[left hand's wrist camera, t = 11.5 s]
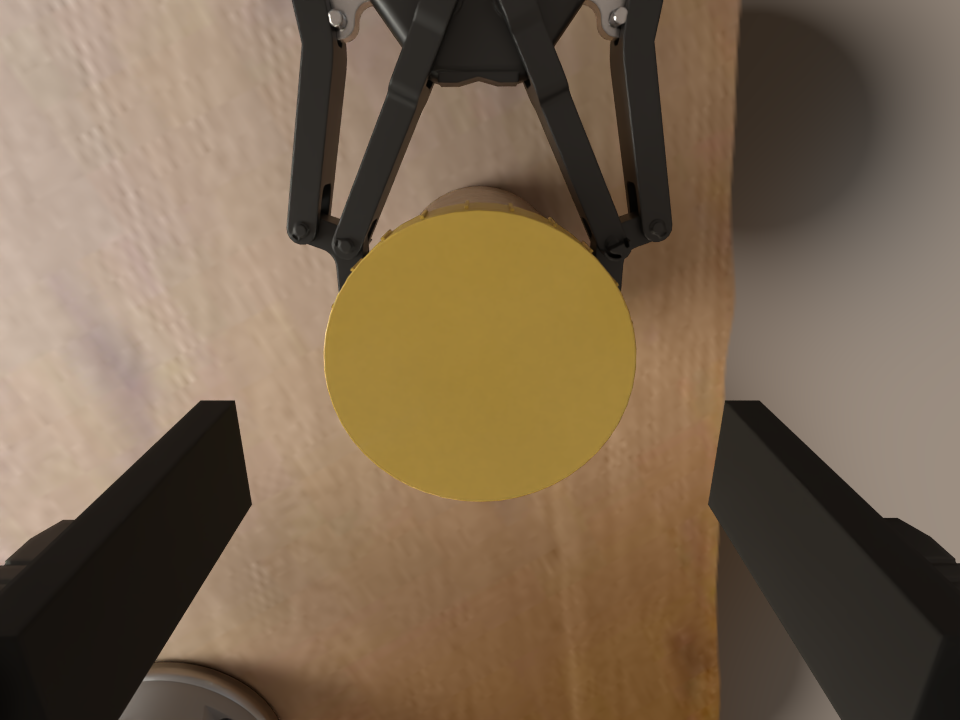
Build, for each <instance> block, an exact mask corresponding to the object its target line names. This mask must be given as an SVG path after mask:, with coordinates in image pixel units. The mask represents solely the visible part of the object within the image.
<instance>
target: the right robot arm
mask: <svg viewBox="0 0 960 720" xmlns="http://www.w3.org/2000/svg"><path fill="white" fill-rule="evenodd" d="M292 3H293V7H294V12H295V16H296V20H297V25H298V29H299V34H300V38H301V42H302V49H301V61H300V73H299V85H298V97H297V109H296V121H295V133H294V145H293V157H292V169H291V181H290V193H289V205H288V217H287V233H288V235H289V237H290V239H291V240H292V241H294V242H295V243H297V244H309V245H312V246H315V247H318V248H320V249H323V250H325V251H327V252H328V253H330V254H331V256H332V257H333V258H334V260H335V263H336V268H337V278H338V289H339V292H340V290H341V288H342V287H343V285H344V283H345V282H346V280H347V278H348V277H349V275H350V274H351V273H352V271H351V269H352V267H353V266H354V265H355V264H356V263H357V262H358V261H359V260H360V259H361V258H362V259H363V258H364V257H365V256H366V255H367V254H368V253H369V244H370V242H371V241H372V239H371V237H372V235H373V232H374V230H375V227H376V225H377V222H378V220H379V217H380V215H381V212H382V210H383V207H384V205H385V202H386V200H387V197H388V195H389V192H390V190H391V187H392V185H393V182H394V180H395V177H396V175H397V172H398V170H399V167H400V165H401V162H402V160H403V157H404V155H405V152H406V150H407V147H408V145H409V142H410V140H411V137H412V135H413V132H414V130H415V127H416V125H417V122H418V120H419V117H420V115H421V112H422V110H423V108H424V106H425V105H426V102H427V100H428V98H429V95H430V93H431V90H432V88H433V85H434V83H436V84H439V85H440V86H441V87H460V86H463V85H467V84H470V83H473V82H477V81H481V82H484V83H488V84H491V85H495V86H516V85H517V84H519V83H522V82H523V84H524V87H525V89H526V91H527V94H528V96H529V98H530V101H531V103H532V105H533V106H534V108H535V110H536V112H537V115H538V117H539V120H540V122H541V124H542V127H543V129H544V132H545V134H546V136H547V139H548V141H549V144H550V146H551V148H552V151H553V153H554V156H555V158H556V160H557V163H558V165H559V167H560V170H561V172H562V175H563V177H564V179H565V182H566V184H567V187H568V189H569V191H570V194H571V196H572V199H573V201H574V203H575V206H576V208H577V211H578V213H579V215H580V218H581V220H582V223H583V225H584V227H585V230H586V232H587V235H588V237H589V239H590V241H591V243H590V248H591V249H592V250H593V252H592V254H593V255H594V256H595V257H596V258H597V259H598V261H599V262H600V263H601V264H602V265H603V267H604V268H605V269H606V270H607V271H608V273H609V274H610V275H611V276H612V277H613V278H614V279H615V281H616V282H617V283H618V284H619V286H617V287H618V288H619V290H620V292H621V284H622V271H623V262H624V259H625V258H626V257H628V255H629V254H630V252H631V250H632V249H634V248H636V247H638V246H641V245H643V244H646V243H649V242H652V241H653V242H660V241H662V240H665V239H666V238H667V237H668V236H669V235H670V233H671V231H672V217H671V207H670V196H669V186H668V176H667V166H666V155H665V145H664V135H663V125H662V115H661V104H660V94H659V84H658V74H657V64H656V53H655V43H654V41H655V36H656V32H657V27H658V22H659V18H660V13H661V8H662V4H663V0H292ZM582 5H586V6H589V7H590V8H591V9H592V10H593V11H594V13H595V15H596V18H597V29H598V32H599V34H600V35H601V37H603V38H604V39H606V40H609V41H611V44H610V68H611V77H612V85H613V93H614V101H615V109H616V117H617V126H618V134H619V142H620V150H621V158H622V166H623V174H624V182H625V190H626V199H627V207H628V214H625V215H623V216H620V217H619V216H618V214H617V211H616V209H615V206H614V204H613V201H612V199H611V196H610V193H609V191H608V188H607V186H606V183H605V181H604V178H603V176H602V173H601V171H600V168H599V166H598V163H597V160H596V158H595V155H594V153H593V150H592V148H591V145H590V143H589V140H588V138H587V135H586V133H585V130H584V128H583V125H582V122H581V120H580V117H579V115H578V112H577V110H576V107H575V105H574V102H573V100H572V97H571V94H570V91H569V86H568V82H567V79H566V76H565V73H564V71H563V68H562V66H561V63H560V61H559V58H558V56H557V53H556V51H555V48H554V46H555V45H556V43H557V42H558V40H559V39H560V37H561V36H562V34H563V33H564V31H565V30H566V28H567V27H568V25H569V24H570V22H571V21H572V20H573V18H574V17H575V15H576V14H577V12H578V11H579V9H580V8H581V6H582ZM371 6H374V8H375V9H376V11H377V12H378V14H379V15H380V16H381V18H382V19H383V21H384V22H385V24H386V25H387V27H388V28H389V29H390V31H391V32H392V34H393V35H394V37H395V38H396V39H397V41H398V42H399V44H400V45H401V47H402V50H401V53H400V56H399V58H398V61H397V64H396V66H395V69H394V72H393V74H392V77H391V80H390V83H389V87H388V93H387V96H386V99H385V102H384V104H383V107H382V110H381V112H380V115H379V117H378V120H377V123H376V125H375V128H374V131H373V133H372V136H371V139H370V141H369V144H368V147H367V149H366V152H365V155H364V157H363V160H362V163H361V165H360V168H359V170H358V173H357V176H356V178H355V181H354V184H353V186H352V189H351V192H350V194H349V197H348V200H347V202H346V205H345V208H344V210H343V213H342V216H341V218H340V219H339V218H336V217H333V216H331V207H332V198H333V189H334V180H335V170H336V161H337V152H338V143H339V134H340V125H341V115H342V106H343V97H344V88H345V79H346V67H347V52H346V43H347V42H350V41H352V40H353V39H355V38H356V36H357V35H358V32H359V22H360V17H361V14H362V13H363V11H364V10H366V9H367V8H369V7H371Z"/></svg>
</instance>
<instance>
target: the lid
mask: <svg viewBox="0 0 960 720" xmlns="http://www.w3.org/2000/svg"><path fill="white" fill-rule="evenodd" d="M592 252H593V250H592V249H591V248H590V247H589V246H588V245H587V244H586V243H585V242H584V241H582V242H580V241H579V240H578V239H577V238H575V237H574V236H573V235H572V234H571V233H570V232H568V231H567V230H565V229H564V228H562V227H561V226H559V225H558V224H557V223H556V222H555V221H554V220H553V219H552V218H551V217H549V218H548V219H547V218H545V217H543V216H541V215H539V214H537V213H534V212H531V211H528V210H525V209H522V208H519V207H514V206H513V204H512V203H509V204H508V205H504V204H499V203H481V202H476V203H469V200H467V201H466V202H465V203H464V204H456V205H451V206H446V207H442V208H438V209H435V210H432V211H429V212H428V210H424V211H423V213H422V214H421V215H419V216H417V217H415V218H413V219H411V220H409V221H407V222H406V223H404V224H402V225H400V226H399V227H398V228H396V229H395V230H393V231H391V230H389V231H387V233H386V234H385V235H384V236H383V237H382V238H381V241H380V242H379V243H378V244H377V245H376V246H375V247H374V248H373V249H372V250H371V251H370V252H369V253H368V254H367V255H366V256H365V257H364V258H363V259H362V258H361V259H360V260H359V261H358V262H357V263H356V264H355V265H354V266H353V267H352V269H351V271H352V273H351V274H350V275H349V277H348V278H347V280H346V282H345V283H344V285H343V287H342V288H341V290H340V292H339V294H338V295H337V298H336V300H335V302H334V304H333V305H332V307H331V308H332V310H331V313H330V316H329V320H328V324H327V328H326V332H325V342H324V372H325V377H326V383H327V388H328V392H329V395H330V398H331V401H332V404H333V407H334V409H335V411H336V413H337V415H338V417H339V419H340V421H341V424H342V425H343V427H344V428H345V430H346V431H347V433H348V434H349V436H350V437H351V439H352V440H353V442H354V443H355V444H356V445H357V446H358V447H359V449H360V450H361V451H362V452H363V453H364V454H365V455H366V456H367V457H368V458H369V459H370V460H371V461H372V462H374V463H375V464H376V465H377V466H378V467H379V468H381V469H382V470H384V471H385V472H386V473H388V474H389V475H391V476H392V477H394V478H395V479H397V480H399V481H401V482H403V483H405V484H406V485H408V486H410V487H413V488H415V489H418V490H420V491H423V492H425V493H428V494H432V495H436V496H439V497H443V498H448V499H454V500H460V501H476V502H486V501H500V500H506V499H512V498H517V497H521V496H525V495H528V494H531V493H535V492H537V491H540V490H542V489H545V488H547V487H549V486H552V485H554V484H556V483H557V482H559V481H561V480H563V479H564V478H566V477H568V476H570V475H571V474H572V473H574V472H575V471H576V470H578V469H579V468H580V467H582V466H583V465H584V464H585V463H587V462H588V461H589V460H590V459H591V458H592V457H593V456H594V455H595V454H596V453H597V452H598V451H599V450H600V449H601V447H602V446H603V445H604V444H605V442H606V441H607V440H608V439H609V438H610V436H611V434H612V433H613V431H614V430H615V428H616V427H617V425H618V423H619V422H620V420H621V417H622V415H623V413H624V411H625V409H626V407H627V404H628V401H629V398H630V394H631V391H632V388H633V383H634V377H635V371H636V342H635V334H634V328H633V322H632V320H631V317H630V313H629V310H628V308H627V305H626V303H625V301H624V298H623V296H622V294H621V292H620V290H619V288H618V287H617V286H619V284H618V283H617V282H616V281H615V279H614V278H613V277H612V276H611V275H610V274H609V273H608V271H607V270H606V269H605V268H604V267H603V265H602V264H601V263H600V262H599V261H598V259H597V258H596V257H595V256H594V255H593V254H592Z"/></svg>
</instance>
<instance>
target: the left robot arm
mask: <svg viewBox="0 0 960 720" xmlns="http://www.w3.org/2000/svg"><path fill="white" fill-rule="evenodd" d="M251 505H252V502H251V496H250V490H249V484H248V478H247V472H246V466H245V460H244V454H243V448H242V441H241V435H240V429H239V423H238V417H237V411H236V405H235V401H200V402H199V403H198V404H197V405H195V406H194V407H193V408H192V409H191V410H190V411H189V412H188V413H187V414H186V415H185V416H184V417H183V418H182V419H181V420H180V421H179V422H178V423H176V424H175V425H174V426H173V427H172V428H171V429H170V430H169V431H168V432H167V433H166V434H165V435H164V436H163V437H162V438H161V439H160V440H159V441H158V442H156V443H155V444H154V445H153V446H152V447H151V448H150V449H149V450H148V451H147V452H146V453H145V454H144V455H143V456H142V457H141V458H140V459H139V460H137V461H136V462H135V463H134V464H133V465H132V466H131V467H130V468H129V469H128V470H127V471H126V472H125V473H124V474H123V475H122V476H121V477H120V478H119V479H117V480H116V481H115V482H114V483H113V484H112V485H111V486H110V487H109V488H108V489H107V490H106V491H105V492H104V493H103V494H102V495H101V496H100V497H98V498H97V499H96V500H95V501H94V502H93V503H92V504H91V505H90V506H89V507H88V508H87V509H86V510H85V511H84V512H83V513H82V514H81V515H79V516H78V517H77V518H76V519H75V520H62V521H60V522H59V523H57V524H55V525H53V526H52V527H50V528H48V529H46V530H45V531H43V532H41V533H39V534H38V535H36V536H34V537H33V538H31V539H29V540H28V541H27V542H26V543H25V544H24V545H23V546H22V547H21V548H19V549H18V550H17V551H16V552H15V553H14V554H13V555H12V556H10V557H9V558H8V559H7V560H6V561H5V562H6V563H5V565H4V566H0V720H278V718H277V716H276V715H275V713H274V712H273V710H272V709H271V707H270V706H269V705H268V704H267V703H266V702H265V701H264V699H263V698H261V697H260V696H259V695H258V694H257V693H256V692H255V691H253V690H252V689H251V688H249V687H248V686H246V685H245V684H243V683H242V682H240V681H238V680H236V679H234V678H232V677H230V676H228V675H226V674H224V673H221V672H218V671H216V670H213V669H209V668H206V667H202V666H198V665H193V664H186V663H176V662H158V663H154V662H155V660H156V659H157V657H158V655H159V654H160V652H161V651H162V649H163V647H164V646H165V644H166V642H167V641H168V639H169V638H170V636H171V634H172V633H173V631H174V630H175V628H176V626H177V625H178V623H179V621H180V620H181V618H182V617H183V615H184V613H185V612H186V610H187V608H188V607H189V605H190V604H191V602H192V600H193V599H194V597H195V596H196V594H197V592H198V591H199V589H200V587H201V586H202V584H203V583H204V581H205V579H206V578H207V576H208V575H209V573H210V571H211V570H212V568H213V566H214V565H215V563H216V562H217V560H218V558H219V557H220V555H221V554H222V552H223V550H224V549H225V547H226V545H227V544H228V542H229V541H230V539H231V537H232V536H233V534H234V533H235V531H236V529H237V528H238V526H239V524H240V523H241V521H242V520H243V518H244V516H245V515H246V513H247V511H248V510H249V508H250V507H251ZM708 505H709V507H710V508H711V510H712V512H713V513H714V515H715V516H716V518H717V520H718V521H719V523H720V524H721V526H722V528H723V529H724V531H725V532H726V534H727V536H728V537H729V539H730V541H731V542H732V544H733V545H734V547H735V549H736V550H737V552H738V554H739V555H740V557H741V558H742V560H743V562H744V563H745V565H746V566H747V568H748V570H749V571H750V573H751V575H752V576H753V578H754V579H755V581H756V583H757V584H758V586H759V587H760V589H761V591H762V592H763V594H764V596H765V597H766V599H767V600H768V602H769V604H770V605H771V607H772V608H773V610H774V612H775V613H776V615H777V617H778V618H779V620H780V621H781V623H782V625H783V626H784V628H785V629H786V631H787V633H788V634H789V636H790V638H791V639H792V641H793V642H794V644H795V645H796V647H797V649H798V650H799V652H800V654H801V655H802V657H803V659H804V660H805V662H806V663H807V665H808V667H809V668H810V670H811V672H812V673H813V675H814V676H815V678H816V680H817V681H818V683H819V684H820V686H821V688H822V689H823V691H824V693H825V694H826V696H827V697H828V699H829V701H830V702H831V704H832V705H833V707H834V709H835V710H836V712H837V714H838V715H839V717H840V718H841V720H960V563H956V562H955V558H954V557H953V556H951V555H950V554H949V553H948V552H947V551H946V550H945V549H944V548H942V547H941V546H940V545H939V544H938V543H937V542H936V541H935V540H933V539H932V538H931V537H930V536H928V535H926V534H925V533H923V532H921V531H919V530H918V529H916V528H914V527H912V526H911V525H909V524H907V523H905V522H904V521H902V520H900V519H898V518H883V517H882V516H881V515H879V514H878V513H877V512H876V511H875V510H874V509H873V508H872V507H871V506H870V505H869V504H868V503H867V502H866V501H865V500H864V499H863V498H862V497H860V496H859V495H858V494H857V493H856V492H855V491H854V490H853V489H852V488H851V487H850V486H849V485H848V484H847V483H846V482H845V481H844V480H843V479H841V478H840V477H839V476H838V475H837V474H836V473H835V472H834V471H833V470H832V469H831V468H830V467H829V466H828V465H827V464H826V463H825V462H824V461H822V460H821V459H820V458H819V457H818V456H817V455H816V454H815V453H814V452H813V451H812V450H811V449H810V448H809V447H808V446H807V445H806V444H805V443H804V442H802V441H801V440H800V439H799V438H798V437H797V436H796V435H795V434H794V433H793V432H792V431H791V430H790V429H789V428H788V427H787V426H786V425H785V424H783V423H782V422H781V421H780V420H779V419H778V418H777V417H776V416H775V415H774V414H773V413H772V412H771V411H770V410H769V409H768V408H767V407H766V406H765V405H763V404H762V403H761V402H760V401H725V405H724V411H723V417H722V423H721V429H720V435H719V441H718V447H717V454H716V460H715V466H714V472H713V478H712V484H711V490H710V496H709V502H708Z"/></svg>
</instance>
